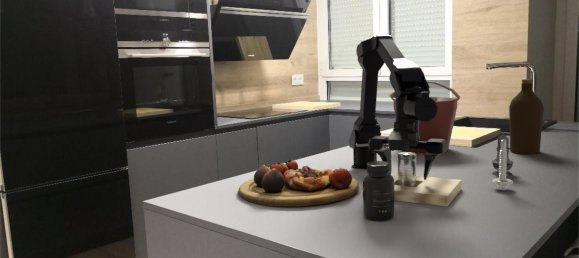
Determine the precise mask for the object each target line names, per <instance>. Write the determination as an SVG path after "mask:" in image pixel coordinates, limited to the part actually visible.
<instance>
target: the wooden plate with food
mask: <svg viewBox="0 0 579 258" xmlns="http://www.w3.org/2000/svg"><path fill="white" fill-rule="evenodd" d="M359 186H360V185H359V182H358V180H357V179H355V178H354V177H353V176H352V174H351V173H350V172H349V170H348V169H347V168H343V167H339V168H335V169H332V168H329V169H323V170H320V169H316V168H311V167H309V165H303V166H302V167H301V168H299V165H298V162H297V161H296V160H294V159H292V158H289V159H288V160H286V161H284V163H280V162H273V163H272V164H271V165H269V166H266V165H265V164H262V165H261V166H260V167H259V168H257V170H256V171H255V173H254V175H253V178H250V179H248V180H246V181H245V182H243V183H242V184H241V185H239V187H238V194H239V196H240V197H241V198H242V199H243V200H245V201H246V202H249V203H252V204H256V205H262V206H270V207H307V206H308V207H309V206H317V205H318V206H319V205H326V204H331V203H334V202H340V201H342V200H346V199H347V198H350V197H352V196H354V195H355V194H356V193H357V192H358V191H359Z"/></svg>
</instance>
